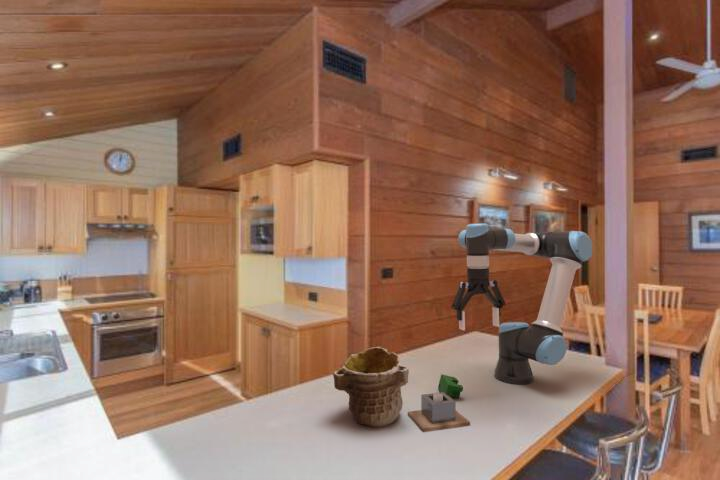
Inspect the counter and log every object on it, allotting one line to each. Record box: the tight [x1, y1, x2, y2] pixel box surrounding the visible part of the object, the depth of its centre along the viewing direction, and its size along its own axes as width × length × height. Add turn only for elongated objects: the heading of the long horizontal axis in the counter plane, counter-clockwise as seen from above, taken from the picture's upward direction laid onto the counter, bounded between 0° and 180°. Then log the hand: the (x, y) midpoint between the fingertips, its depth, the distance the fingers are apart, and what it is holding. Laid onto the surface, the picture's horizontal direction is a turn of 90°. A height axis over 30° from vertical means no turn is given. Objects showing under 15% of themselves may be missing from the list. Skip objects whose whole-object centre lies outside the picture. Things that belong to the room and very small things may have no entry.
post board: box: [407, 392, 471, 433], centre depth 126 cm, size 16×12×8 cm
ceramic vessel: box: [332, 346, 410, 428], centre depth 127 cm, size 23×24×25 cm
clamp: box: [437, 373, 464, 399], centre depth 147 cm, size 12×6×9 cm, turn 175°
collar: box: [420, 391, 457, 424], centre depth 126 cm, size 8×8×6 cm
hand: (479, 327), depth 138 cm, fingers open, 13 cm apart
